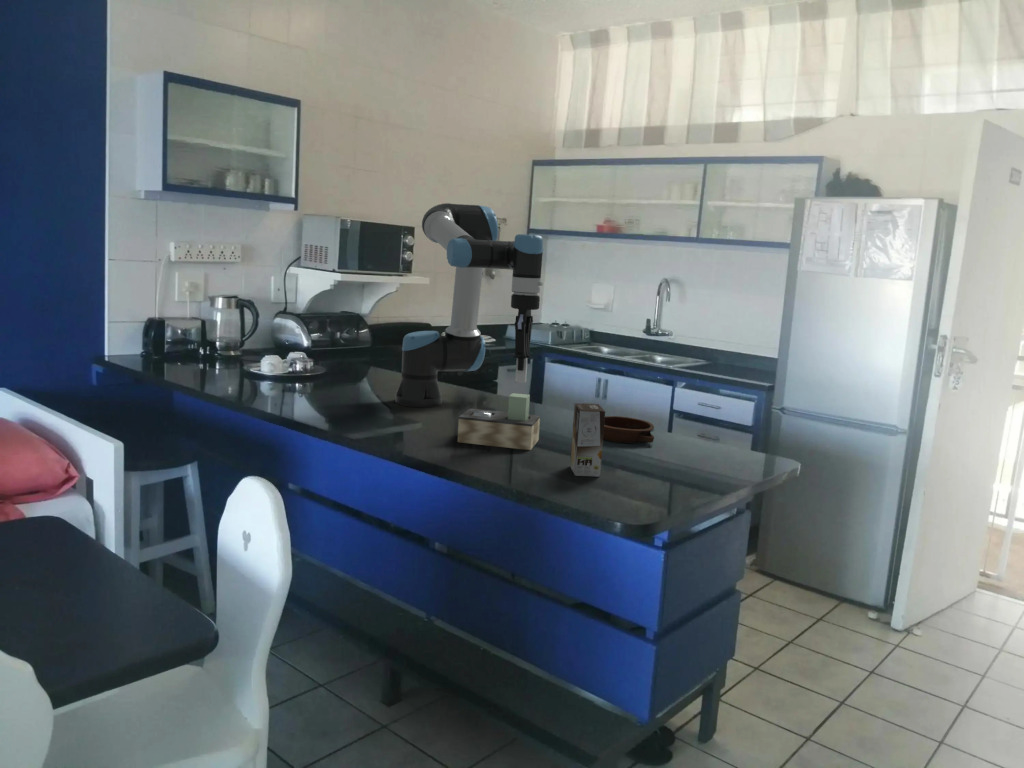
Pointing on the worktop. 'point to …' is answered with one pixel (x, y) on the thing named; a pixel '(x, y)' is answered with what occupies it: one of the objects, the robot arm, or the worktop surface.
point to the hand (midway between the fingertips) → (520, 382)
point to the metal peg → (482, 413)
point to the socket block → (498, 430)
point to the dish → (627, 430)
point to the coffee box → (587, 439)
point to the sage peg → (518, 407)
